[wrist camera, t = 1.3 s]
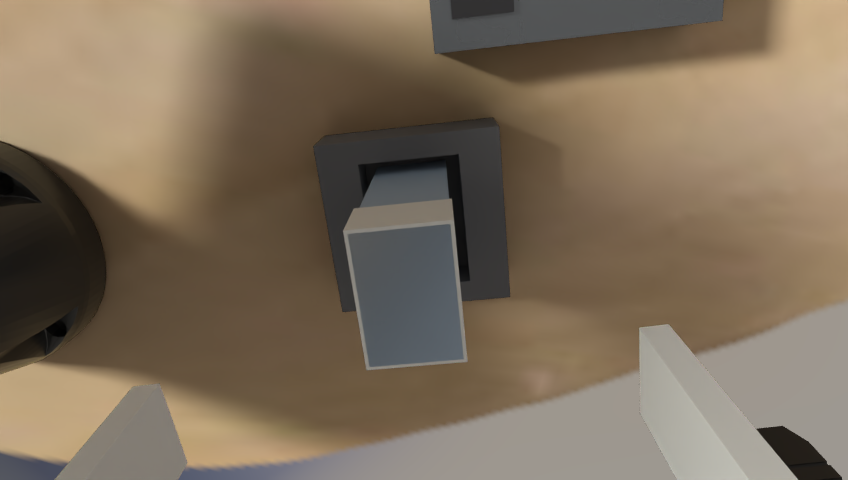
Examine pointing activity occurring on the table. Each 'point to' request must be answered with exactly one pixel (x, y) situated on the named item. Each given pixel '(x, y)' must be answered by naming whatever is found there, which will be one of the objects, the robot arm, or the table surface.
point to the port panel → (555, 19)
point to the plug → (406, 269)
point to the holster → (467, 183)
